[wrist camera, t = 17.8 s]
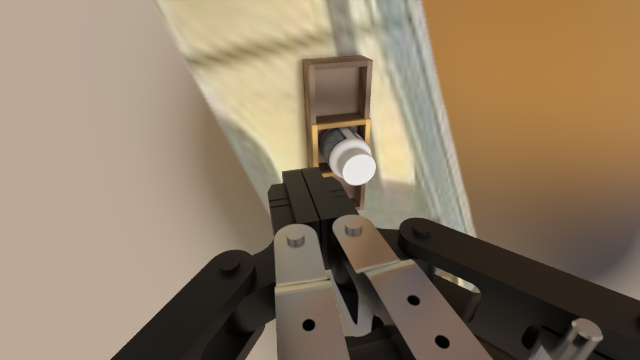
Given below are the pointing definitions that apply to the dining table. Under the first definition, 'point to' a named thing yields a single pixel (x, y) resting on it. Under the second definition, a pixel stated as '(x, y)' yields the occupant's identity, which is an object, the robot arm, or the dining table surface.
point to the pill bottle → (347, 154)
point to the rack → (337, 107)
